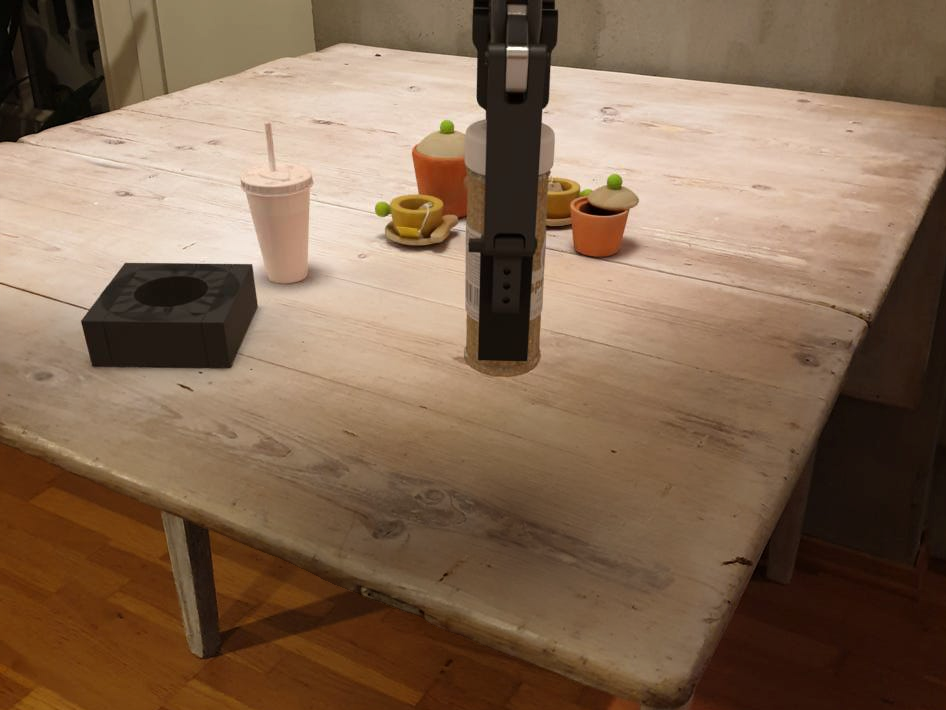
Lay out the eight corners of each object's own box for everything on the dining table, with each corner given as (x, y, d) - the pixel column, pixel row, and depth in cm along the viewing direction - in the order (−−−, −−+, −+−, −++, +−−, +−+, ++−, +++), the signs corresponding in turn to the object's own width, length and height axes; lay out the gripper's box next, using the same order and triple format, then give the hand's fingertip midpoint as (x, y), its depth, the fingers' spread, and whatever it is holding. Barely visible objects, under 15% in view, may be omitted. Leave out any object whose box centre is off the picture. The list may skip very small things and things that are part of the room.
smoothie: (302, 256, 95) (287, 109, 87) (334, 278, 90) (321, 127, 82) (241, 271, 91) (220, 121, 83) (271, 296, 87) (252, 140, 79)
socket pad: (91, 366, 77) (80, 320, 74) (133, 304, 86) (124, 262, 83) (230, 367, 76) (223, 322, 74) (258, 305, 86) (252, 263, 83)
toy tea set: (368, 249, 96) (362, 152, 91) (403, 195, 109) (399, 107, 103) (632, 268, 93) (642, 169, 87) (636, 210, 105) (646, 120, 100)
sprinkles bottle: (551, 375, 55) (568, 137, 47) (474, 385, 54) (479, 143, 46) (526, 337, 59) (538, 111, 51) (453, 346, 57) (454, 116, 50)
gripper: (630, -123, 35) (579, 420, 48) (589, -153, 49) (558, 272, 62) (422, -128, 35) (428, 417, 48) (442, -156, 49) (442, 270, 62)
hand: (502, 334), depth 55 cm, fingers closed on sprinkles bottle, 4 cm apart
